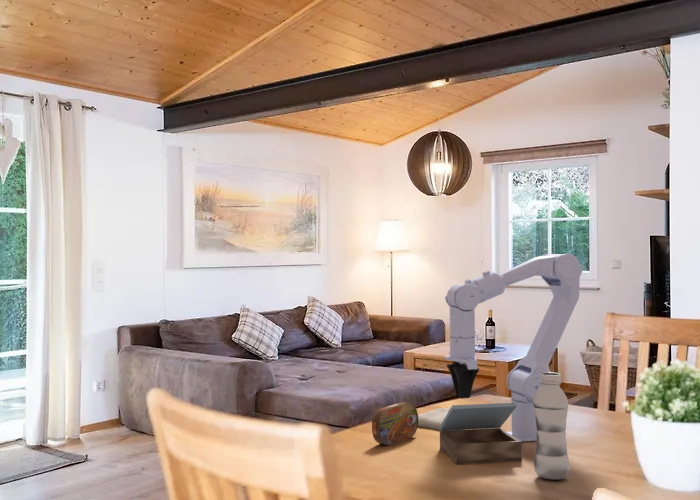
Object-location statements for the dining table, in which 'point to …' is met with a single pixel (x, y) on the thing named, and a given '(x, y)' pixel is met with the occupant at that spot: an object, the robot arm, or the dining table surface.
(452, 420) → the lid
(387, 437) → the tin
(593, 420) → the dining table surface
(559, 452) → the plastic bottle
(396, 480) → the dining table surface
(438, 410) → the washcloth
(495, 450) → the box
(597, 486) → the dining table surface
